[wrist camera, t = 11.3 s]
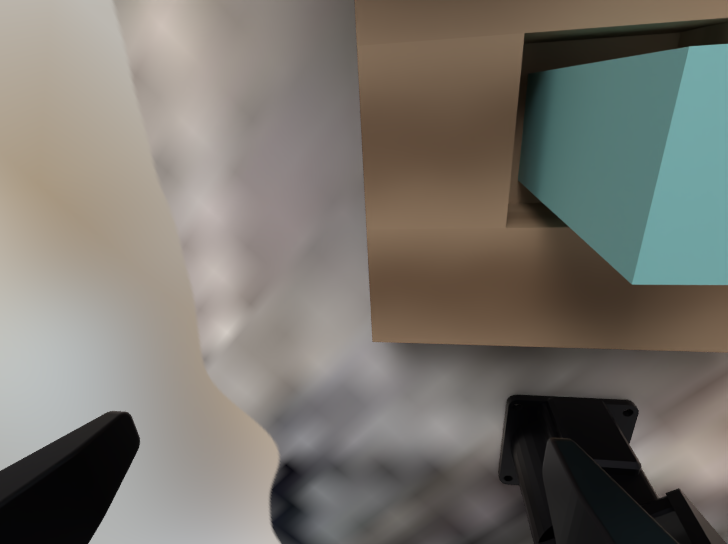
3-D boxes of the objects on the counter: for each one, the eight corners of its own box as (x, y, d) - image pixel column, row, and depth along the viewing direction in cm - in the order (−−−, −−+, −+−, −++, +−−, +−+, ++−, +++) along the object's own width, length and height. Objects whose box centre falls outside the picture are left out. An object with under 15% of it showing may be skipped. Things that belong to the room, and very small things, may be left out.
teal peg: (620, 176, 16) (876, 286, 7) (517, 180, 17) (632, 284, 8) (643, 66, 14) (1014, 22, 5) (528, 73, 15) (688, 46, 6)
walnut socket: (728, 302, 18) (803, 354, 15) (381, 297, 20) (372, 341, 17) (901, -175, 12) (1116, -294, 8) (365, -105, 14) (345, -174, 10)
